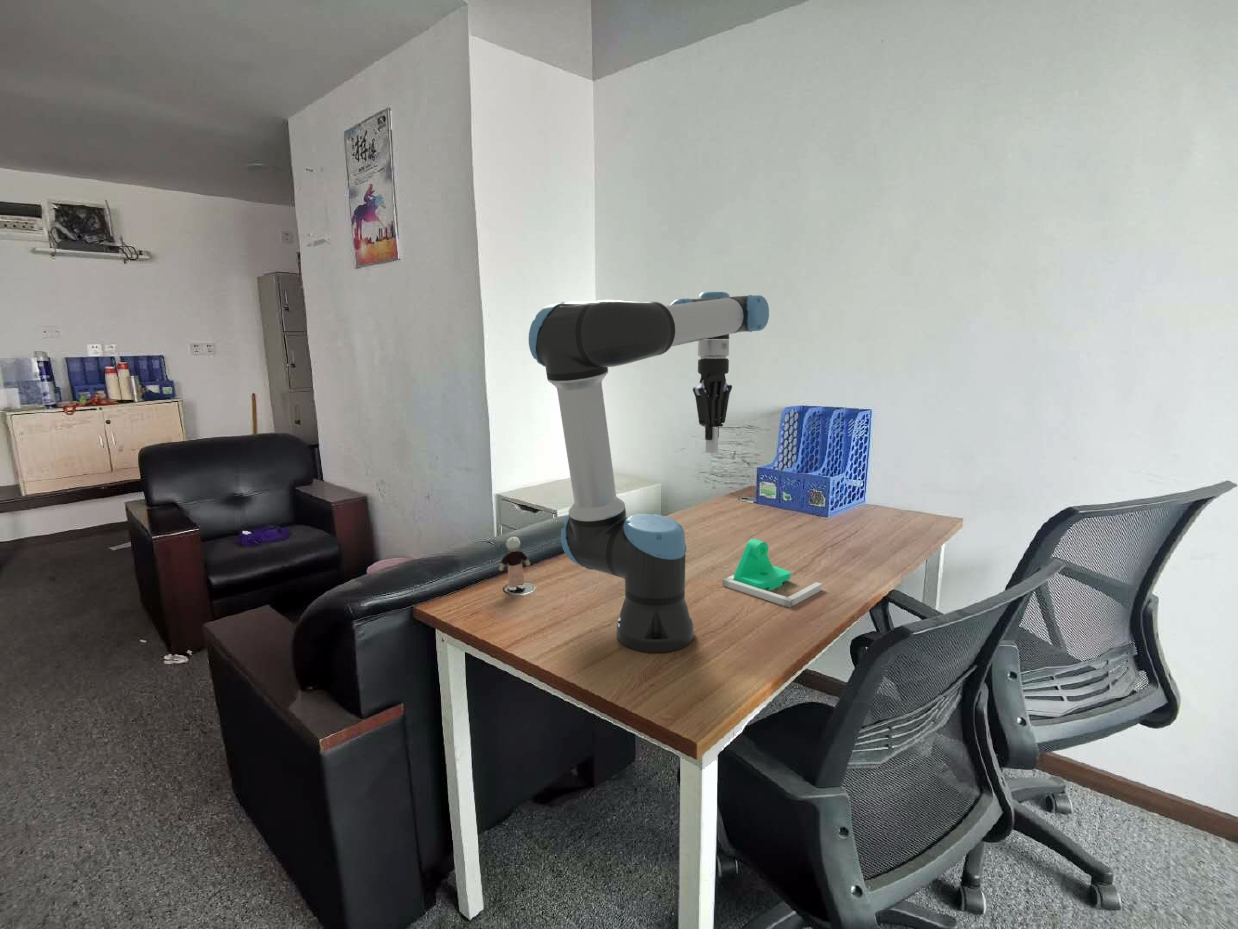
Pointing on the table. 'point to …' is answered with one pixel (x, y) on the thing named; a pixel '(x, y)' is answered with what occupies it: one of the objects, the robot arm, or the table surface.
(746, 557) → the camera mount
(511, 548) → the grandmother figurine
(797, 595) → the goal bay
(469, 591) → the table surface
